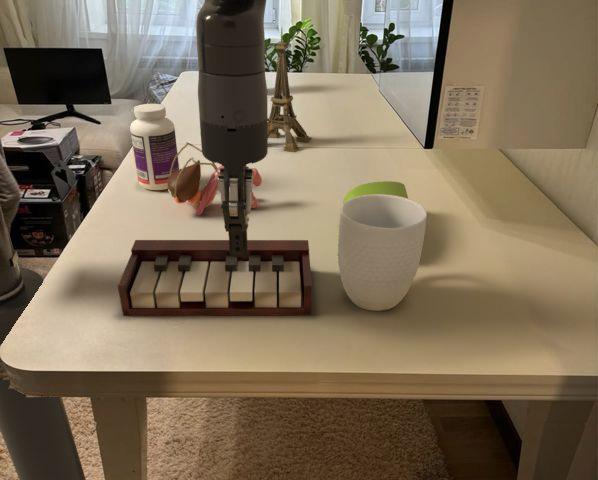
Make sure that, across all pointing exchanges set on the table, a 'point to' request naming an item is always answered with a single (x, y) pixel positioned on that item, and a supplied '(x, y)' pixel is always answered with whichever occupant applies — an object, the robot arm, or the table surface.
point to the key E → (195, 282)
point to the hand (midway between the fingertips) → (238, 254)
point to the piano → (216, 278)
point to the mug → (379, 248)
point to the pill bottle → (153, 146)
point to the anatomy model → (188, 180)
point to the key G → (242, 283)
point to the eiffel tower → (284, 106)
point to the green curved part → (377, 190)
